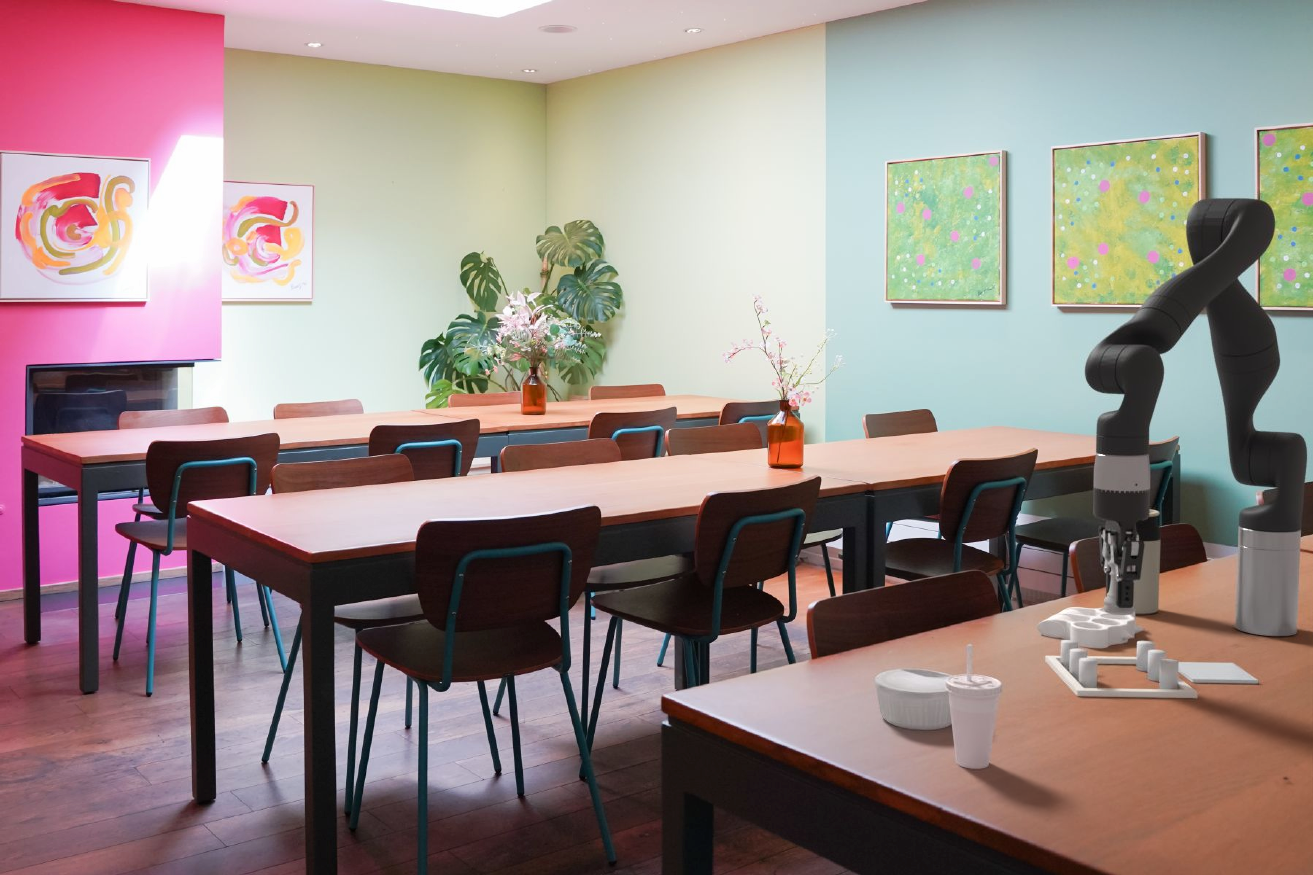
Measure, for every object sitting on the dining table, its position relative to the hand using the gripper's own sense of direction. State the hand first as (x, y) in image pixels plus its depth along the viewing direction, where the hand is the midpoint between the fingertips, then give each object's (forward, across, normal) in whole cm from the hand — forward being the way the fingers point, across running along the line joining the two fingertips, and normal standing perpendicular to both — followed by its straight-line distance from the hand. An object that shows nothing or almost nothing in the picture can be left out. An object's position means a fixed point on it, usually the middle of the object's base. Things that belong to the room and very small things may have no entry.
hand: (1119, 602), depth 172 cm
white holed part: (+12, +26, -4) cm, 28 cm away
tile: (+11, +3, -14) cm, 18 cm away
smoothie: (+11, -36, +27) cm, 47 cm away
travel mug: (+12, +44, -16) cm, 48 cm away
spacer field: (+11, 0, 0) cm, 11 cm away
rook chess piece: (+2, 0, 0) cm, 2 cm away
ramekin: (+11, -20, +31) cm, 39 cm away
